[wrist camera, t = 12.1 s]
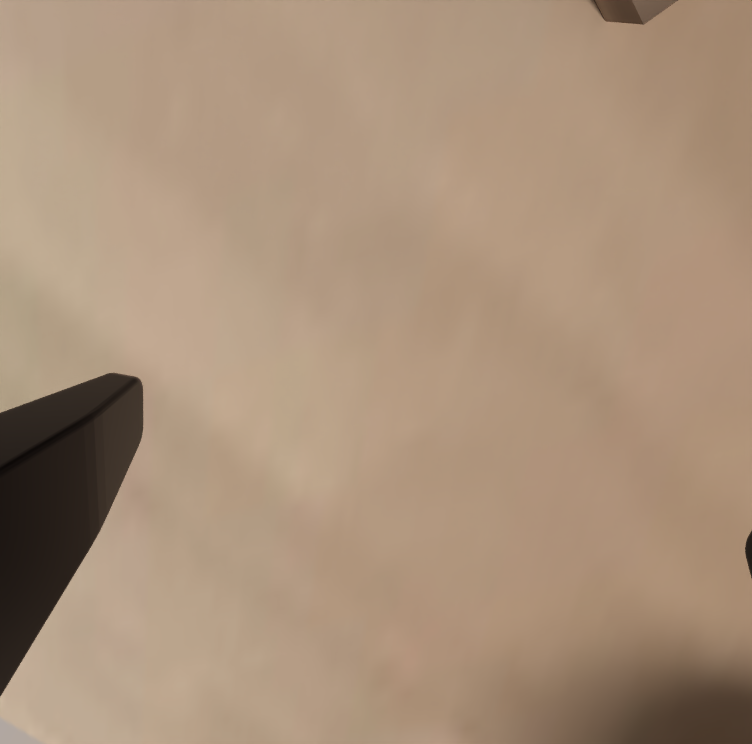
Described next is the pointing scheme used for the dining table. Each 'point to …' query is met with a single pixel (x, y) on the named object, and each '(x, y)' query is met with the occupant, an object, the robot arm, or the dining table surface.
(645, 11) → the walnut base
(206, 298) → the dining table surface
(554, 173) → the dining table surface
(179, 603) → the dining table surface
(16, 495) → the robot arm
